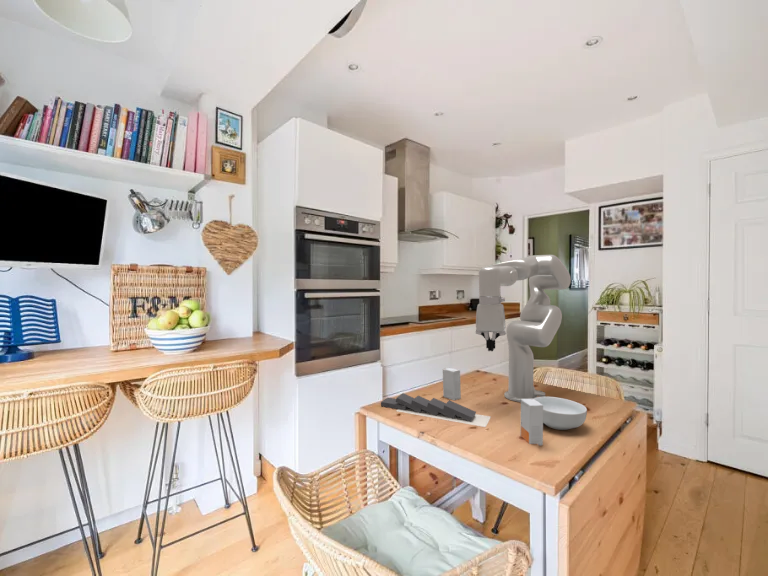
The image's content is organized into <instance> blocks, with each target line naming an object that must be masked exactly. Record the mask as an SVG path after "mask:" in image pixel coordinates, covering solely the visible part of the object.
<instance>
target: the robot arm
mask: <svg viewBox="0 0 768 576" xmlns="http://www.w3.org/2000/svg"><path fill="white" fill-rule="evenodd" d="M526 279H528V285H529V286H528V287H529V295H530V296H529V299H528V300H527V302H526V304H525V305H524V307H523V308H522V310H521V312H520V315H519V316H520V317H519V318H520V320H514V321H511V322H509V323H508V325H507V327H506V315H505V307H504V304H502V303H503V302H506V298H505V297H502V295H501V287H510V286H512V285H514V284H515V283H516V282H517V281H524V280H526ZM571 281H572V280H571V274H570V272H569V271H568V269H567V267H566V266H565V264H564V263H563V262H562V261H561V260H560V258H559V257H558V256H556V255H555V254H538V255H537V254H534V255H530V256H526V257H522V258H518V259H514V260H509V261H503V262H499V263H498V262H497V263H493V264H490V265H485V266H483V267H481V268H480V269H479V270H478V293H479V294H478V296H479V299H478V301H479V302H478V304H477V307H476V314H475V334H476V335H479V336H482V337H483V338H484V339H485V341H486V344H485V345H486V346H485V347H486V349H487V351H488V352H493V351H494V350H495V349H496V340H497V338H499V337H502V336H505V335H506V339H507V345H508V390H507V391H505V392H504V398H506V399H507V400H509V401H513V402H517V403H521V399H534V398H536V397H546V392H543V390H537V389H536V388H535V386H534V361H535V360H534V353H533V351H532V349H531V346H532V347H538V348H546V347H548V346H549V345H551V343H552V341H553V340H554V338H555V335H556V334H557V332H558V330H559V329H560V326H561V323H562V319H563V318H562V317H563V315H562V313H563V312H562V310H561V308H560V307H559V306H557V305H555V304H554V305H552V304H551V299H550V297H549V295H548V294H547V293H546V292H545V290H551V291H552V290H555V291H556V290H557V291H560V290H561V291H562V290H563V291H564V290H566V289H568V288H569V287H570V285H571ZM490 333H491V334H492V335H491V337H490Z"/></svg>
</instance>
